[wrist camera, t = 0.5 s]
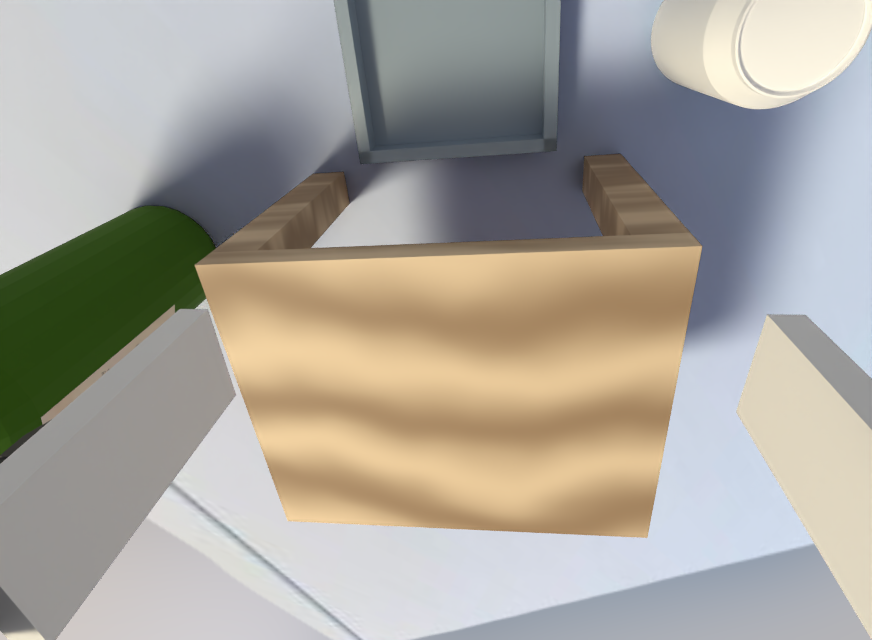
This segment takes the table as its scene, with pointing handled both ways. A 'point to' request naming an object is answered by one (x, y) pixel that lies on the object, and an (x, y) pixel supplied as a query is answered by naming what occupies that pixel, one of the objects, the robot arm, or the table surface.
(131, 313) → the wine bottle
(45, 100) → the table surface
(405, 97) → the tray
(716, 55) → the beverage can
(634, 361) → the small wooden table
